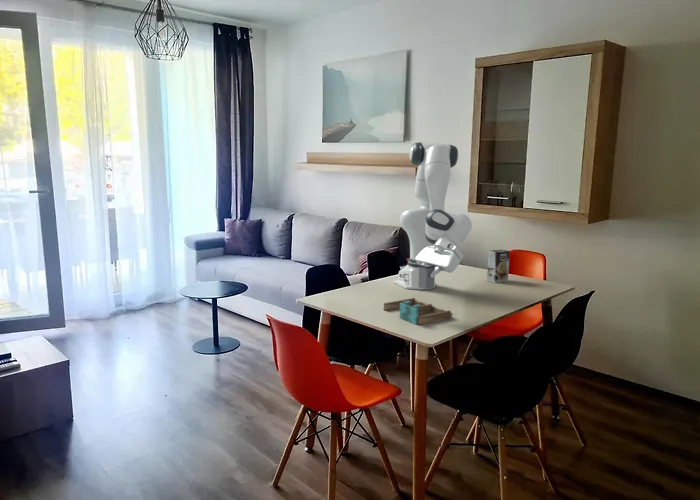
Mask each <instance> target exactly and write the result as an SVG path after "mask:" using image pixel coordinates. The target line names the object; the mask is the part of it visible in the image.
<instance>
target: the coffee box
mask: <svg viewBox="0 0 700 500" xmlns="http://www.w3.org/2000/svg"><path fill="white" fill-rule="evenodd" d="M510 253H511V252H510V250H507V249H492V250H491V249H490V250H488V257H487V258H488V259H487V273H486V274H487V275H486V281H487V282H490V283H493V284H497V283H505V282H508V281H509V271H510V269H509V268H510Z"/></svg>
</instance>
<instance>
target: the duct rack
mask: <svg viewBox="0 0 700 500" xmlns="http://www.w3.org/2000/svg"><path fill="white" fill-rule="evenodd" d="M395 309H397V310H398V309H399V319H402V320H404V321H405V322H409V323H411V324H413V325H419V326H421V325H427V324H430V323H434V322H439V321H443V320H449V319H452V318H453V312H451V310H445V309H442V308H440V307H437V306H433V304H432V303H429V304H428V303H425V302H423V301H419V300H417V299H416V298H415V297H411V298H405V299H401V300H394V301H389V302H388V301H387V302H383V311H384V312H385V311H391V310H395ZM430 312H432V313H430ZM425 313H426V314H425ZM427 313H429V314H427ZM420 314H424V315H420Z"/></svg>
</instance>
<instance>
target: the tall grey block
mask: <svg viewBox="0 0 700 500" xmlns="http://www.w3.org/2000/svg"><path fill="white" fill-rule="evenodd" d="M434 270H435V266H434V265H430V264H421V265H419V286H418V287H420V288H423V289H422V290H431V289H430V288H432V289H434V288H435V287H434V283H436V281H435V277H436V275H435V276H434V278H431V277H429V274H430V272H433V271H434Z"/></svg>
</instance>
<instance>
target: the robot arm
mask: <svg viewBox="0 0 700 500" xmlns="http://www.w3.org/2000/svg"><path fill="white" fill-rule="evenodd" d="M458 150H459V149H458V148H457V146H455V145H452V144H447V143H441V142H422V141H420V142H414V143H413V144H412V145H411V147H410V150H409V154H408V156H409V161H410V163H411V164H412V165H413V166H417V171H416V176H415V177H416V178H415V184H414V185H415V186H414V192H413V193H414V194H413V195H414V197H415V198H417V200H418V201H419V202H418V203H419V207H418V208H417V207H416V208H409V209H408V210H407V209H406V210H405V211H403V212H402V213H401V214H400V217H399V225H400V227H401V229H403V230H404V232H406V234H407V237H408V240H409V257H407V259H406V262H407V265H405V266H404V267H403V268H402V269H400V270H399V271H398V274H397V276H398V277H397V279H393V280H392V281H393V283H394V284H396V285H398V286H400V287H402V288H404V289H407V290H410V289H411V290H424V289H423V288H420V287H418V286H419V265H421V264H430V265H434V266H435V270H434V271H433V272H430V274H429V277H431V278H434V276H435V277H436V275H438V274H440V273H441V272H445V273H449V274H451V273H454V271H455V270H456V269H457V268H458V266H459V265H460V263H461V261H462V260H463V258H464V257H465V256H464V255H463V253H462V252H461V250H460V246H461V245H462V243H464V242H465V241H466V240H467V237H468V236H469V235H470V233H471V231H472V228H473V224H472V223H473V222H472V221H471V219H470V218H469V216H468V215H466V214H465V213H461V212H460V213H452V212H451V213H450V212H448V211H445V202H446V196H447V191H448V188H449V184H450V177H451V168H453V167H455V166H456V165H457V163H458V160H459V151H458ZM435 287H436V282H435V283H434V288H435ZM431 289H432V290H433V288H430V289H429V290H431Z"/></svg>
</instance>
